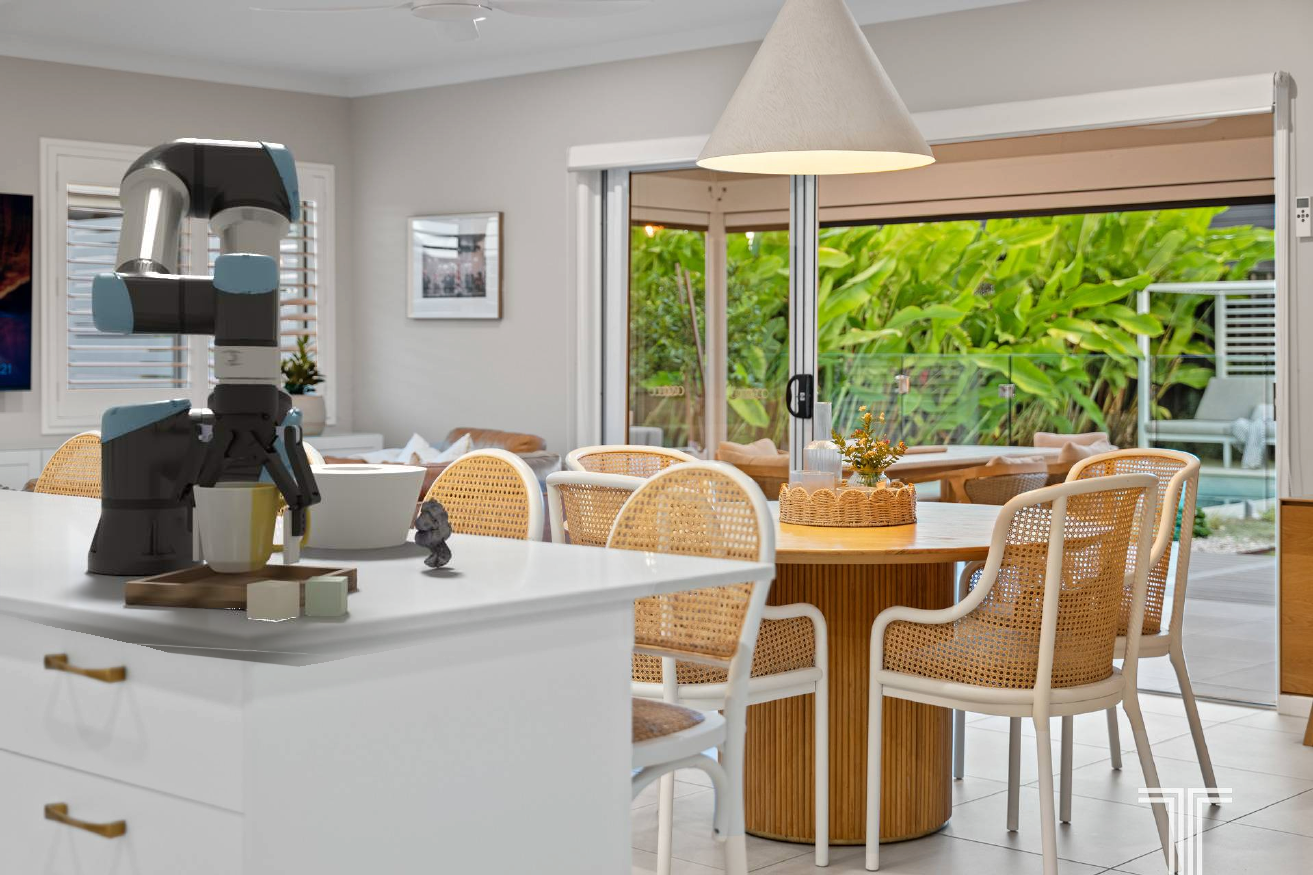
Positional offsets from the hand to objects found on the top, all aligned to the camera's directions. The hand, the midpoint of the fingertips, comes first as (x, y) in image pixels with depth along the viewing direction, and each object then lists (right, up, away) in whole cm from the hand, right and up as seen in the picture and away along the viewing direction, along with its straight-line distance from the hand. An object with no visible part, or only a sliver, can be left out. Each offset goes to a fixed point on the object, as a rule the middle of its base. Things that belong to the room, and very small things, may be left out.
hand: (246, 561), depth 176 cm
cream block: (+8, -5, -16) cm, 18 cm away
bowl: (+1, -2, +57) cm, 58 cm away
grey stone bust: (+19, -3, +28) cm, 34 cm away
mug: (+1, -1, 0) cm, 1 cm away
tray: (0, -4, 0) cm, 4 cm away
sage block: (+13, -5, -12) cm, 18 cm away
